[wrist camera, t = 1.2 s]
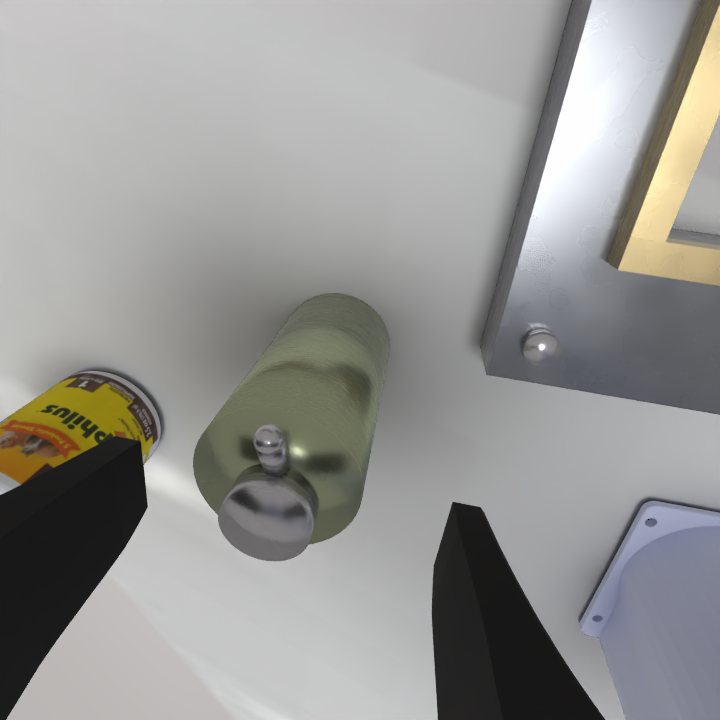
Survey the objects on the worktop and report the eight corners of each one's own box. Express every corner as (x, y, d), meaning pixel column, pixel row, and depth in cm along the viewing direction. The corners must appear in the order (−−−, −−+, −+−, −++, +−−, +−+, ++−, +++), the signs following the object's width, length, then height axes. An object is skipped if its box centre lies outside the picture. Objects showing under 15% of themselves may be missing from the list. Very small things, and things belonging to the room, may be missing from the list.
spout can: (381, 397, 21) (344, 598, 12) (283, 380, 22) (175, 563, 12) (398, 300, 19) (368, 455, 10) (288, 282, 19) (163, 417, 10)
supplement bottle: (187, 424, 23) (34, 610, 14) (125, 473, 26) (-43, 663, 16) (100, 343, 22) (-133, 493, 13) (42, 403, 24) (-193, 568, 15)
